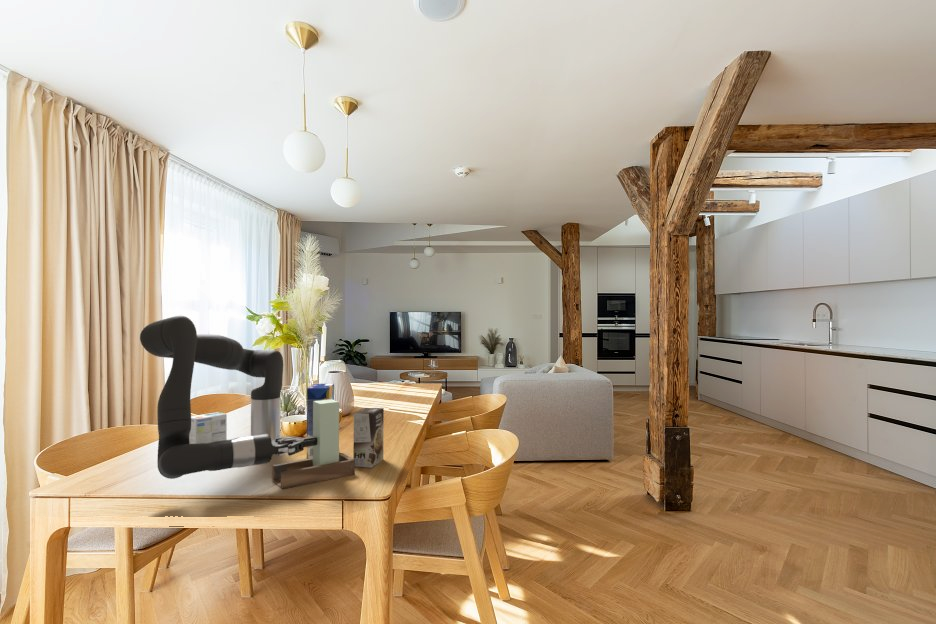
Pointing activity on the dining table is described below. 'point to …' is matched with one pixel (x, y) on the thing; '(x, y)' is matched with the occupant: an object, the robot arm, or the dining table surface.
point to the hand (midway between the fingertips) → (316, 440)
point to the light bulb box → (208, 428)
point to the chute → (311, 471)
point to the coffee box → (368, 437)
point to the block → (326, 432)
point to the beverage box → (313, 394)
